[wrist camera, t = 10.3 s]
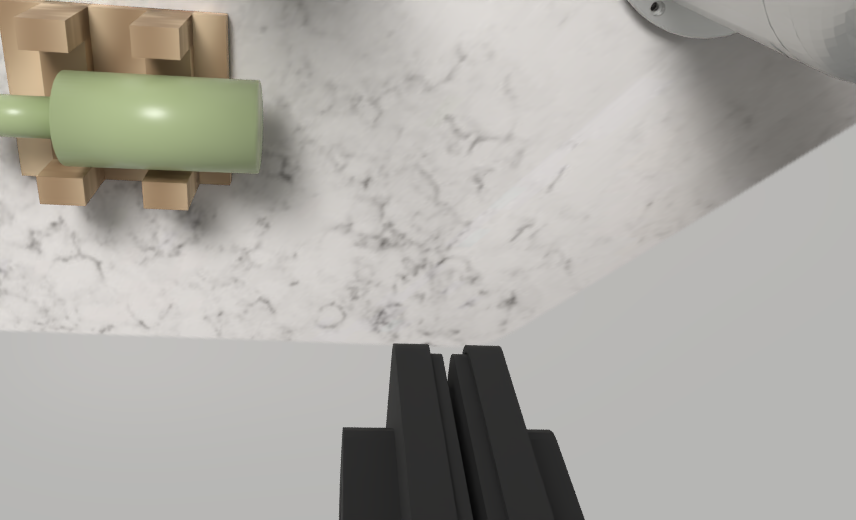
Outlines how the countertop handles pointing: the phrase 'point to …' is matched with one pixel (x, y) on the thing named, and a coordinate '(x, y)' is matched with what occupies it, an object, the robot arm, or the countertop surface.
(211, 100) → the bottle
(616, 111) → the countertop surface
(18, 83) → the rest
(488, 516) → the robot arm
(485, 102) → the countertop surface
